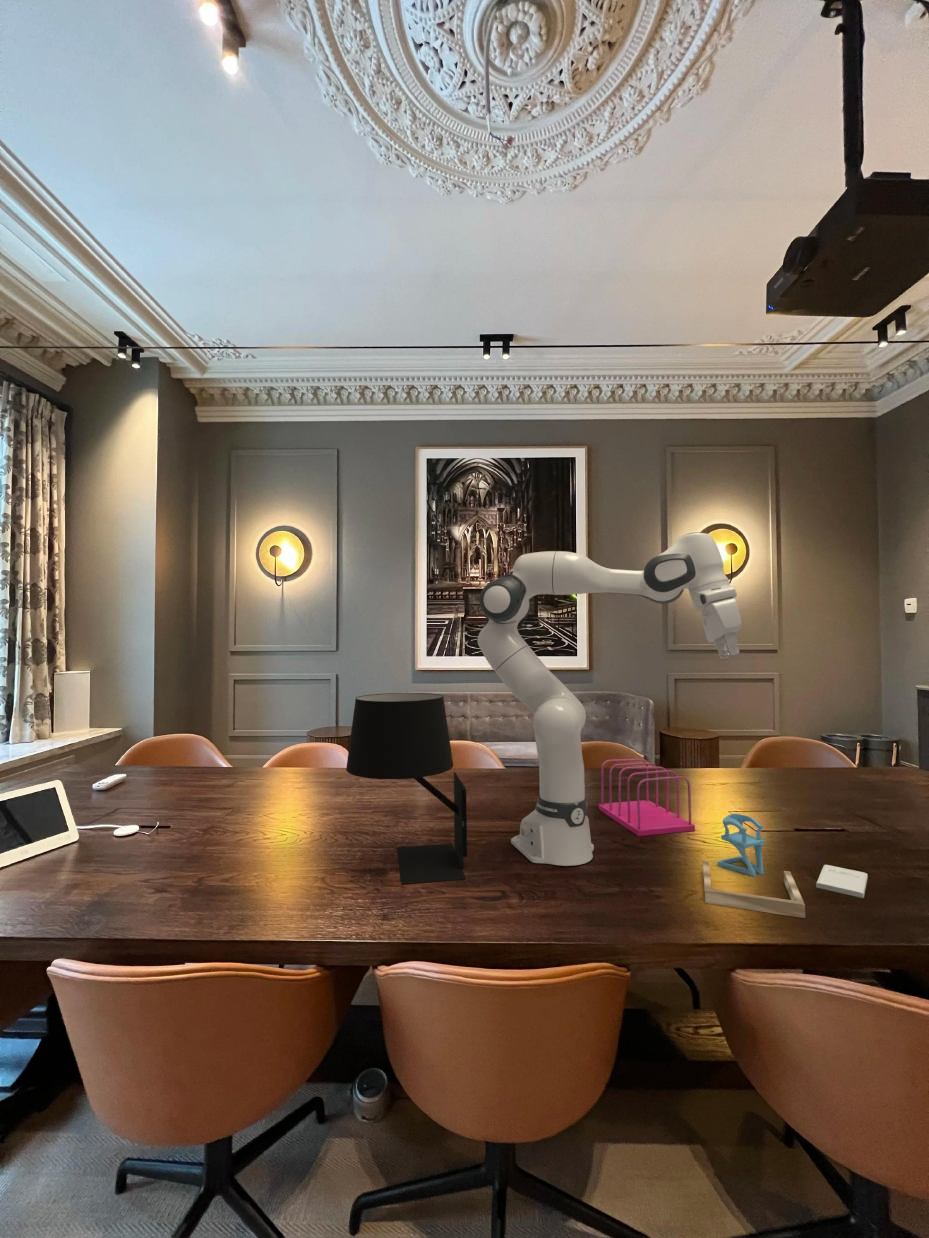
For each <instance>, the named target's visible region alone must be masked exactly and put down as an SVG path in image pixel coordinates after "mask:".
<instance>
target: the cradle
mask: <svg viewBox="0 0 929 1238" xmlns="http://www.w3.org/2000/svg"><path fill="white" fill-rule="evenodd" d="M702 874H703V875H702V876H703V887H704V888H703V889H704V902H705V904H709V905H715V906H723V907H729V908H730V907H731V908H735V909H741V910H743V909H744V910H748V911H755V912H761V913H768V914H774V915H775V914H776V915H781V916H787V917H796V918H801V919H806V904H805V902H804V899H803V897H802V895H801V893H800V891H799V888H798V886H797V884H796V882H795V879H794V878H793V877H794V876H793V875H792V873H791V871H790V870H789V871H788V870H787V871H786V870H783V882H784V883H783V884H784V886H785V888H786V891H787V893H788V895H789V898H790V899H783V898H777V897H769V896H764V895H758V894H750V893H743V892H735V891H730V890H729V891H728V890H722V889H715V888H712V883H711V872H710V862H709V861H708V860H702Z"/></svg>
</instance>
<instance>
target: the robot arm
mask: <svg viewBox="0 0 929 1238" xmlns="http://www.w3.org/2000/svg"><path fill="white" fill-rule="evenodd" d="M685 589H686V590H687V589H688V592H689V596H690V599H691V602H692V606H693V610H694V611H695V612H700V613H701V615H700V616H701V617H700V618H701V623H702V626H703V630H704V633H705V637H706V640H707V641H708V643H713V644H714V647H715V648H716V650H717V652H718V653H719V657H720V659H721V660H723V659H728V658H729V657H730V656H734V655H738V654H740V648H739V644H738V636H737V632H740V631H741V630H742V617H741V615H740V610H739V606H738V602H737V599H736V597H737V596H738V595H737V590H736V588H735V587H734V586H731V583H730V580H729V578H728V577H727V576H726V573H725V569H724V561H723V558H722V556H721V552H720V549H719V548H718V545H717V544H716V541H715V539H714V538H713V536H711V535H710V534H708V533H706V532H701V531H700V532H698V531H697V532H690V533H685V534H683V535H681V536H679V537H678V538H677V539H676V541H675V542H674V543H673V544H672V545H671V546H669V548H667V549H665V550H664V551H663V552H662V553H660V554H658V555H656V556H654V557H653V558H651V559H649V560H648V561H647V563H646V564H645V566H644V569H643V570H629V569H615V568H607V567H604V566H601V565H600V564H598V563H596V562H595V561H593V560H591V559H590V558H589V557H587V556H586V555H585V554H581V553H576V552H572V551H562V550H561V551H560V550H556V551H555V550H553V551H552V550H550V551H538V552H529V553H525V554H522V555H520V556H518V558H517V559H516V560H515V562H514V564H513V569H512V573H506V574H504V575H502V576H500V577H498V578H496V579H493V580H492V581H490V582H489V583H487V584H485V586H484V587H483V588H482V590H481V592H480V594H479V601H478V603H479V607H480V609H481V611H482V613H483V614H484V616H486V617H487V619H488V622H487V623H486V625H485V626H484V627H483V628H482V629H481V630H480V632H479V633H478V636H477V645H478V647H479V649H480V651H481V653H482V655H483V656H484V658H485V659H486V661H487V663H488V665H490V667H491V669H492V670H493V671H494V672H495V674H496V675H497V676H498V677H499V678H500V680H501V681H502V682H503V684H504V685H505V686H506V687H507V689H508V690H509V692H511V694H512V696H514V698H516V699H517V700H520V701H521V703H523V704H524V705H525V706H526V708H528V709H529V710H530V711H531V712H532V713H533V714H534V716H533V722H532V726H533V731H534V738H535V739H534V740H535V744H536V745H535V746H536V753H537V759H538V767H539V768H538V770H539V772H538V773H539V795H536V796H535V795H534V796H533V798H535V799H533V801H534V802H536V804H535V807H534V808H535V809H534V810H533V811H531V812H530V813H529V814H528V815H527V816H525V817H524V818H522V819H521V822H520V824H519V825H520V826H519V827H520V828H519V834H517V835H515V836H513V837H512V838H511V839H510V843H511V845H513V846H514V847H515V848H516V849H517V850H518V851H519V852H520V853H521V854H522V855H523V856H524V857H525V858H527V860H529V861H530V862H531V863H534V864H548V865H554V866H564V867H568V866H569V867H570V866H580V865H583V864H587V863H589V862H590V861H591V860H593V858H594V854H593V851H594V850H595V846H594V843H592V840H591V832H590V831H591V830H590V822H589V817H588V816H587V814H588V802H587V798H586V796H585V795H586V794H585V792H586V791H585V789H586V788H585V764H584V760H583V759H584V758H583V752H582V751H583V750H582V740H581V739H582V738H581V732H582V729H584V726H585V724H586V720H587V715H586V714H587V713H586V710H585V707H584V705H583V703H581V701H580V700H579V699H578V698H577V697H576V695H574V694H573V693H572V692H571V691H570V690H569V689H568V687H567V686H566V685H565V684H564V683H562V681H561V680H560V679H559V678H558V677H556V676H555V674H553V673H552V672H551V671H550V669H548V667H547V666H546V665H545V664H544V662H543V661H542V660H541V658H539V657H538V655H537V654H536V653H535V652H534V650H533V649H532V648H531V647H530V646H529V644H528V643H527V642H526V641H525V640H524V638H523V637H522V636H521V634H520V633H519V630H520V628H521V627H522V625H523V623H524V622H525V620H526V619H527V617H528V616H529V613H530V611H531V608H532V601H531V598H533V597H534V596H537V595H556V596H557V595H559V596H560V595H561V596H562V595H563V596H565V595H566V596H567V595H568V596H569V595H581V594H597V593H598V594H600V593H603V594H605V593H606V594H621V595H632V596H633V595H634V596H639V597H642V598H645V599H647V600H649V601H651V602H653V603H656V604H659V605H660V604H662V605H665V604H670V603H673V602H675V601H677V600H678V599H680V597H681V596H682V595H683V592H684V591H685ZM725 640H726V641H725ZM726 644H727V646H726Z"/></svg>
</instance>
